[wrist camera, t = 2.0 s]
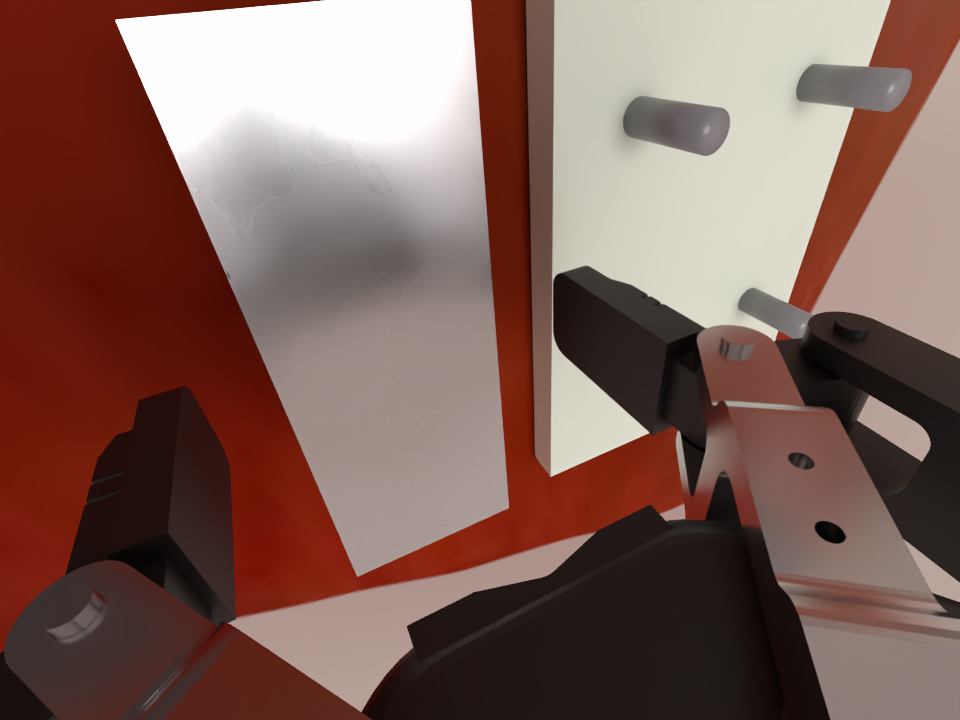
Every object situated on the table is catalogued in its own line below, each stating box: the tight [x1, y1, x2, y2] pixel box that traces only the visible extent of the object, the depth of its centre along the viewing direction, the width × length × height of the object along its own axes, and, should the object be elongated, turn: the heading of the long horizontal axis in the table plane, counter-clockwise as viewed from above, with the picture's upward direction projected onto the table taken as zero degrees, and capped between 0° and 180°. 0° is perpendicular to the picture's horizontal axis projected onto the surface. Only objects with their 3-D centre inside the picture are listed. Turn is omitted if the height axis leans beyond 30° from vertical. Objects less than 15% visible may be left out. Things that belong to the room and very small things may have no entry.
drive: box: [116, 0, 509, 577], centre depth 12 cm, size 12×5×7 cm, turn 5°
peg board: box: [526, 0, 912, 476], centre depth 19 cm, size 22×14×4 cm, turn 5°
